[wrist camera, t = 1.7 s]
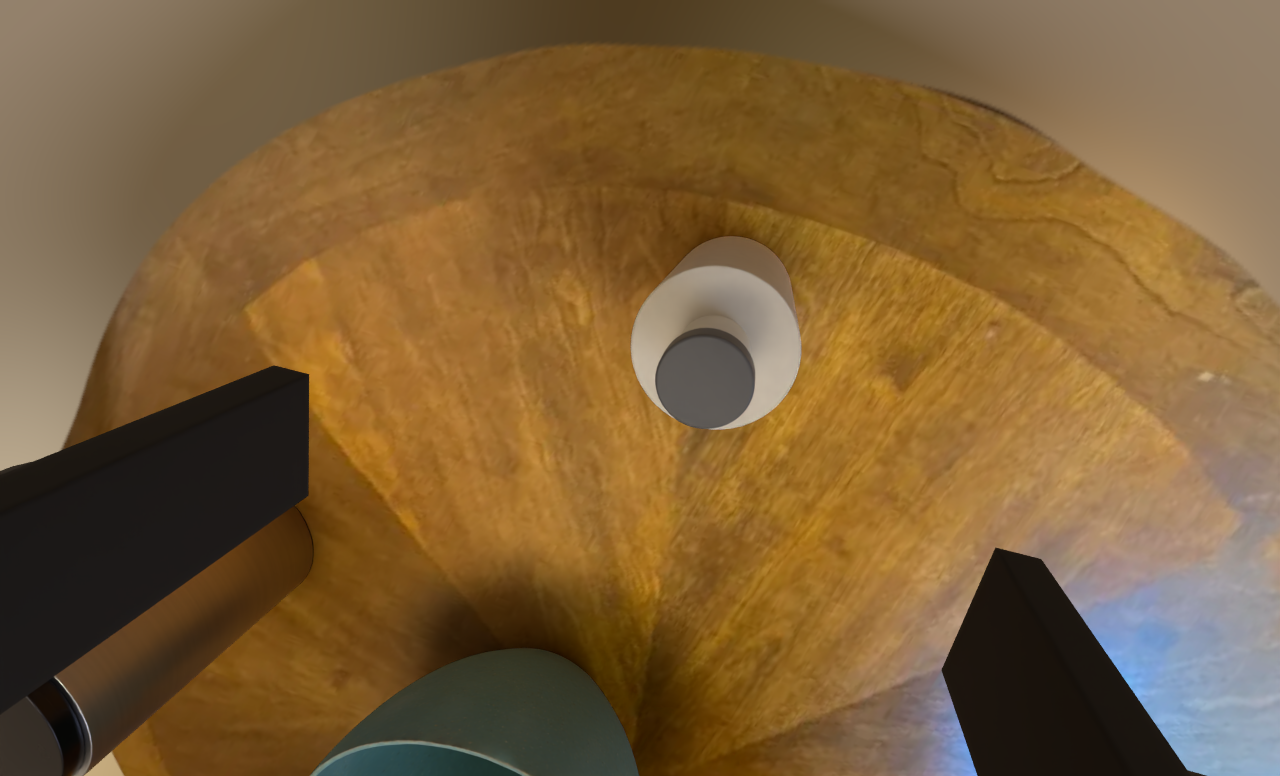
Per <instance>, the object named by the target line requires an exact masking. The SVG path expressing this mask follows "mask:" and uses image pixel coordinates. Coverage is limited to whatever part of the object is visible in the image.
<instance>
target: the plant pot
mask: <svg viewBox="0 0 1280 776" xmlns="http://www.w3.org/2000/svg"><path fill="white" fill-rule="evenodd" d="M310 776H639V774H638V770H637V766H636V762H635V759H634V756H633V752H632V749H631V746H630V744H629V741H628V739H627V736H626V734H625V731H624V729H623V727H622V725H621V723H620V721H619V719H618V717H617V715H616V713H615V711H614V710H613V708H612V706H611V705H610V703H609V701H608V700H607V698H606V697H605V695H604V694H603V692H602V691H601V690H600V688H599V687H598V686H597V684H596V683H595V682H594V681H593V679H592V678H591V677H590V676H589V675H588V674H587V673H586V672H584V671H583V670H582V669H581V668H580V667H578V666H577V665H576V664H574V663H573V662H571V661H570V660H568V659H566V658H564V657H562V656H560V655H558V654H555V653H552V652H550V651H545V650H541V649H534V648H514V649H504V650H496V651H490V652H485V653H481V654H477V655H473V656H469V657H466V658H463V659H460V660H458V661H455V662H452V663H450V664H448V665H445V666H443V667H441V668H439V669H437V670H435V671H433V672H431V673H429V674H427V675H426V676H424V677H422V678H420V679H419V680H417V681H415V682H414V683H412V684H410V685H409V686H407V687H406V688H404V689H403V690H401V691H399V692H398V693H397V694H395V695H394V696H393V697H391V698H390V699H388V700H387V701H386V702H385V703H383V704H382V705H381V706H379V707H378V708H377V709H376V710H374V711H373V712H372V713H371V714H370V715H368V716H367V717H366V718H365V719H364V720H363V721H361V722H360V723H359V724H358V725H357V726H356V727H355V728H354V729H353V730H352V731H351V732H349V733H348V734H347V735H346V736H345V737H344V738H343V739H342V740H341V741H340V742H339V743H338V744H337V745H336V746H335V747H334V748H333V749H332V751H331V752H330V753H329V754H328V755H327V756H326V757H325V758H324V759H323V761H322V762H321V763H320V764H319V765H318V766H317V767H316V769H315V770H314V771H313V772H312V774H311V775H310Z"/></svg>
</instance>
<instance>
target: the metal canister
mask: <svg viewBox="0 0 1280 776" xmlns="http://www.w3.org/2000/svg"><path fill="white" fill-rule="evenodd" d="M312 560H313V545H312V539H311V536H310V532H309V530H308V527H307V525H306V523H305V521H304V519H303V517H302V516H301V514H300V513H299V511H298V510H297V509H296V507H295V506H293V507H292V508H290V509H289V510H287V511H286V512H284V513H283V514H282V515H280V516H279V517H277V518H276V519H275V520H273V521H272V522H270V523H269V524H268V525H266V526H265V527H263V528H262V529H261V530H259V531H258V532H256V533H255V534H254V535H252V536H251V537H249V538H248V539H247V540H245V541H244V542H242V543H241V544H240V545H238V546H237V547H235V548H234V549H233V550H231V551H230V552H228V553H227V554H225V555H224V556H223V557H221V558H220V559H218V560H217V561H216V562H214V563H213V564H211V565H210V566H209V567H207V568H206V569H204V570H203V571H202V572H200V573H199V574H197V575H196V576H195V577H193V578H192V579H190V580H189V581H188V582H186V583H185V584H183V585H182V586H181V587H179V588H178V589H176V590H175V591H173V592H172V593H171V594H169V595H168V596H166V597H165V598H164V599H162V600H161V601H159V602H158V603H157V604H155V605H154V606H152V607H151V608H150V609H148V610H147V611H145V612H144V613H143V614H141V615H140V616H138V617H137V618H136V619H134V620H133V621H131V622H130V623H129V624H127V625H126V626H124V627H123V628H122V629H120V630H119V631H117V632H116V633H114V634H113V635H112V636H110V637H109V638H107V639H106V640H105V641H103V642H102V643H100V644H99V645H98V646H96V647H95V648H93V649H92V650H91V651H89V652H88V653H86V654H85V655H84V656H82V657H81V658H79V659H78V660H77V661H75V662H74V663H72V664H71V665H70V666H68V667H67V668H65V669H64V670H63V671H61V672H60V673H58V674H57V675H55V676H54V677H53V678H51V679H50V680H48V681H47V682H46V683H44V684H43V685H41V686H40V687H39V688H37V689H36V690H34V691H33V692H32V693H30V694H29V695H27V696H26V697H25V698H23V699H22V700H20V701H19V702H18V703H16V704H15V705H13V706H12V707H11V708H9V709H8V710H6V711H5V712H3V713H2V714H1V715H0V776H84V775H85V774H86V773H87V772H89V770H91V769H92V768H93V767H94V766H95V765H96V764H98V763H99V762H100V761H101V760H102V759H103V758H104V757H105V756H106V755H108V754H109V753H110V752H111V751H112V750H113V749H114V748H116V747H117V746H118V745H119V744H120V743H121V742H122V741H123V740H125V739H126V738H127V737H128V736H129V735H130V734H131V733H133V732H134V731H135V730H136V729H137V728H138V727H139V726H140V725H142V724H143V723H144V722H145V721H146V720H147V719H148V718H149V717H151V716H152V715H153V714H154V713H155V712H156V711H157V710H158V709H160V708H161V707H162V706H163V705H164V704H165V703H166V702H167V701H169V700H170V699H171V698H172V697H173V696H174V695H175V694H176V693H178V692H179V691H180V690H181V689H182V688H183V687H184V686H185V685H187V684H188V683H189V682H190V681H191V680H192V679H193V678H194V677H196V676H197V675H198V674H199V673H200V672H201V671H202V670H203V669H205V668H206V667H207V666H208V665H209V664H210V663H211V662H212V661H214V660H215V659H216V658H217V657H218V656H219V655H220V654H221V653H223V652H224V651H225V650H226V649H227V648H228V647H229V646H230V645H232V644H233V643H234V642H235V641H236V640H237V639H238V638H239V637H241V636H242V635H243V634H244V633H245V632H246V631H247V630H249V629H250V628H251V627H252V626H253V625H254V624H255V623H256V622H258V621H259V620H260V619H261V618H262V617H263V616H264V615H265V614H267V613H268V612H269V611H270V610H271V609H272V608H273V607H274V606H276V605H277V604H278V603H279V602H280V601H281V600H282V599H283V598H285V597H286V596H287V595H288V594H289V593H290V592H291V591H292V590H294V589H295V588H296V587H297V586H298V585H299V584H300V583H301V582H302V581H303V580H304V579H305V578H306V576H307V575H308V573H309V571H310V568H311V565H312Z"/></svg>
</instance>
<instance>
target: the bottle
mask: <svg viewBox="0 0 1280 776" xmlns="http://www.w3.org/2000/svg"><path fill="white" fill-rule="evenodd" d="M631 357H632V362H633V367H634V370H635V373H636V376H637V378H638V380H639V382H640V384H641V386H642V388H643V389H644V391H645V392H646V394H647V395H648V397H649V398H650V399H651V400H652V401H653V402H654V403H655V404H656V405H657V406H658V407H659V408H660V409H661V410H662V411H664V412H665V413H667V414H668V415H670V416H671V417H673V418H675V419H677V420H678V421H680V422H681V423H683V424H685V425H688V426H691V427H695V428H701V429H730V428H736V427H740V426H744V425H746V424H749V423H751V422H754V421H756V420H758V419H759V418H761V417H763V416H765V415H766V414H767V413H769V412H770V411H772V410H773V409H774V408H775V407H776V406H777V405H778V404H779V403H780V402H781V401H782V400H783V398H784V397H785V396H786V395H787V393H788V391H789V390H790V388H791V387H792V385H793V383H794V380H795V378H796V376H797V373H798V369H799V366H800V359H801V338H800V331H799V325H798V320H797V314H796V309H795V303H794V298H793V292H792V286H791V282H790V278H789V275H788V273H787V271H786V268H785V267H784V265H783V264H782V262H781V261H780V259H779V258H778V257H777V256H776V255H775V254H774V253H773V252H772V251H771V250H770V249H768V248H767V247H766V246H764V245H763V244H761V243H759V242H757V241H754V240H751V239H749V238H744V237H737V236H725V237H719V238H715V239H712V240H709V241H706V242H704V243H702V244H700V245H699V246H697V247H696V248H694V249H693V250H692V251H691V252H690V253H688V254H687V255H686V256H685V257H684V259H683V260H682V261H681V262H680V263H679V264H678V265H677V266H676V267H675V268H674V269H673V270H672V271H671V272H670V273H669V275H668V276H667V277H666V278H665V279H664V280H663V281H662V282H661V283H660V284H659V285H658V286H657V287H656V288H655V289H654V291H653V292H652V293H651V294H650V295H649V296H648V297H647V299H646V300H645V302H644V303H643V305H642V306H641V308H640V310H639V312H638V314H637V316H636V319H635V322H634V325H633V330H632V335H631Z"/></svg>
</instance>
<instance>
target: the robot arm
mask: <svg viewBox="0 0 1280 776" xmlns="http://www.w3.org/2000/svg"><path fill="white" fill-rule="evenodd" d="M308 477H309V374H306V373H302V372H298V371H294V370H290V369H286V368H282V367H278V366H271V367H269V368H266V369H264V370H261V371H259V372H256V373H254V374H251V375H249V376H246V377H244V378H241V379H239V380H236V381H234V382H231V383H229V384H226V385H224V386H221V387H219V388H216V389H214V390H211V391H209V392H206V393H204V394H201V395H199V396H196V397H194V398H191V399H189V400H186V401H184V402H181V403H179V404H176V405H174V406H171V407H169V408H166V409H164V410H161V411H159V412H156V413H154V414H151V415H149V416H146V417H144V418H141V419H139V420H136V421H134V422H131V423H129V424H126V425H124V426H121V427H119V428H116V429H114V430H111V431H109V432H106V433H104V434H101V435H99V436H96V437H94V438H91V439H89V440H86V441H84V442H81V443H79V444H76V445H74V446H71V447H69V448H66V449H64V450H61V451H59V452H57V453H54V454H51V455H49V456H46V457H44V458H41V459H39V460H36V461H34V462H29V463H25V464H21V465H17V466H13V467H10V468H7V469H5V470H2V471H0V715H1V714H2V713H3V712H5V711H6V710H8V709H9V708H11V707H12V706H13V705H15V704H16V703H18V702H19V701H20V700H22V699H23V698H25V697H26V696H27V695H29V694H30V693H32V692H33V691H34V690H36V689H37V688H39V687H40V686H41V685H43V684H44V683H46V682H47V681H48V680H50V679H51V678H53V677H54V676H55V675H57V674H58V673H60V672H61V671H63V670H64V669H65V668H67V667H68V666H70V665H71V664H72V663H74V662H75V661H77V660H78V659H79V658H81V657H82V656H84V655H85V654H86V653H88V652H89V651H91V650H92V649H93V648H95V647H96V646H98V645H99V644H100V643H102V642H103V641H105V640H106V639H107V638H109V637H110V636H112V635H113V634H114V633H116V632H117V631H119V630H120V629H122V628H123V627H124V626H126V625H127V624H129V623H130V622H131V621H133V620H134V619H136V618H137V617H138V616H140V615H141V614H143V613H144V612H145V611H147V610H148V609H150V608H151V607H152V606H154V605H155V604H157V603H158V602H159V601H161V600H162V599H164V598H165V597H166V596H168V595H169V594H171V593H172V592H173V591H175V590H176V589H178V588H179V587H181V586H182V585H183V584H185V583H186V582H188V581H189V580H190V579H192V578H193V577H195V576H196V575H197V574H199V573H200V572H202V571H203V570H204V569H206V568H207V567H209V566H210V565H211V564H213V563H214V562H216V561H217V560H218V559H220V558H221V557H223V556H224V555H225V554H227V553H228V552H230V551H231V550H233V549H234V548H235V547H237V546H238V545H240V544H241V543H242V542H244V541H245V540H247V539H248V538H249V537H251V536H252V535H254V534H255V533H256V532H258V531H259V530H261V529H262V528H263V527H265V526H266V525H268V524H269V523H270V522H272V521H273V520H275V519H276V518H277V517H279V516H280V515H282V514H283V513H284V512H286V511H287V510H289V509H290V508H292V507H293V506H294V505H296V504H297V503H299V502H300V501H301V500H303V499H304V498H306V497H307V496H308ZM942 673H943V676H944V679H945V682H946V684H947V687H948V690H949V693H950V696H951V699H952V702H953V705H954V708H955V711H956V714H957V717H958V720H959V723H960V725H961V728H962V731H963V734H964V737H965V740H966V743H967V746H968V749H969V752H970V755H971V758H972V761H973V764H974V767H975V769H976V772H977V775H978V776H1206V775H1202V774H1199V773H1195V772H1191V771H1188V770H1187V769H1186V768H1185V766H1184V765H1183V763H1182V762H1181V761H1180V759H1179V758H1178V756H1177V755H1176V753H1175V752H1174V750H1173V749H1172V748H1171V746H1170V745H1169V743H1168V742H1167V740H1166V739H1165V737H1164V736H1163V735H1162V733H1161V732H1160V730H1159V729H1158V727H1157V726H1156V724H1155V723H1154V722H1153V720H1152V719H1151V717H1150V716H1149V714H1148V713H1147V711H1146V710H1145V709H1144V707H1143V706H1142V704H1141V703H1140V701H1139V700H1138V698H1137V697H1136V696H1135V694H1134V693H1133V691H1132V690H1131V688H1130V687H1129V685H1128V684H1127V683H1126V681H1125V680H1124V678H1123V677H1122V675H1121V674H1120V672H1119V671H1118V669H1117V668H1116V667H1115V665H1114V664H1113V662H1112V661H1111V659H1110V658H1109V656H1108V655H1107V654H1106V652H1105V651H1104V649H1103V648H1102V646H1101V645H1100V643H1099V642H1098V641H1097V639H1096V638H1095V636H1094V635H1093V633H1092V632H1091V630H1090V629H1089V628H1088V626H1087V625H1086V623H1085V622H1084V620H1083V619H1082V617H1081V616H1080V615H1079V613H1078V612H1077V610H1076V609H1075V607H1074V606H1073V604H1072V603H1071V602H1070V600H1069V599H1068V597H1067V596H1066V594H1065V593H1064V591H1063V590H1062V589H1061V587H1060V586H1059V584H1058V583H1057V581H1056V580H1055V578H1054V577H1053V575H1052V574H1051V573H1050V571H1049V570H1048V568H1047V567H1046V565H1045V564H1044V562H1043V561H1042V560H1041V559H1039V558H1035V557H1031V556H1027V555H1023V554H1019V553H1015V552H1011V551H1007V550H1003V549H999V548H995V550H994V552H993V555H992V557H991V559H990V561H989V564H988V566H987V568H986V570H985V573H984V575H983V577H982V580H981V582H980V584H979V586H978V589H977V591H976V593H975V595H974V598H973V600H972V602H971V604H970V607H969V609H968V611H967V614H966V616H965V618H964V620H963V623H962V625H961V627H960V629H959V632H958V634H957V636H956V638H955V641H954V643H953V645H952V648H951V650H950V652H949V654H948V657H947V659H946V661H945V663H944V666H943V668H942Z"/></svg>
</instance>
